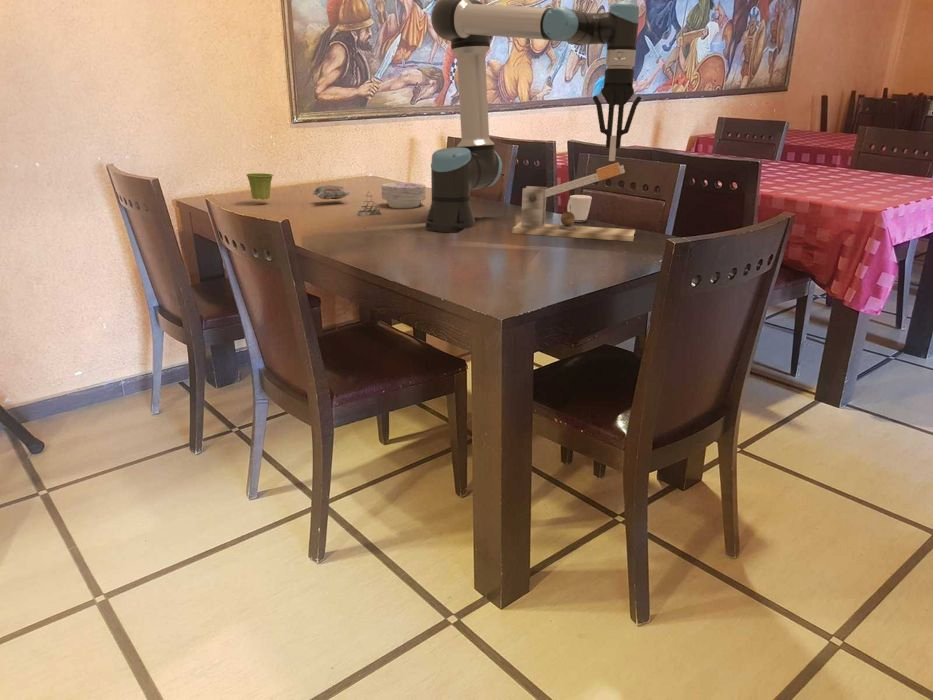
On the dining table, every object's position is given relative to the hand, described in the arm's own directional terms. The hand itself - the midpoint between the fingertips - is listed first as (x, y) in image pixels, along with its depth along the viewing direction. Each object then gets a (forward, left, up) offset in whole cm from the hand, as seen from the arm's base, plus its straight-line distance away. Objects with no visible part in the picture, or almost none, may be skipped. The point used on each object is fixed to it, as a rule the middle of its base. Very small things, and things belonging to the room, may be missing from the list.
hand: (611, 160), depth 190 cm
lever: (-21, 0, -11) cm, 24 cm away
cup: (-11, +22, -21) cm, 32 cm away
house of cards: (-78, +14, -22) cm, 82 cm away
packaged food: (-104, +31, -22) cm, 111 cm away
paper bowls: (-72, +29, -21) cm, 80 cm away
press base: (-9, 0, -21) cm, 23 cm away
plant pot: (-128, +28, -21) cm, 133 cm away
